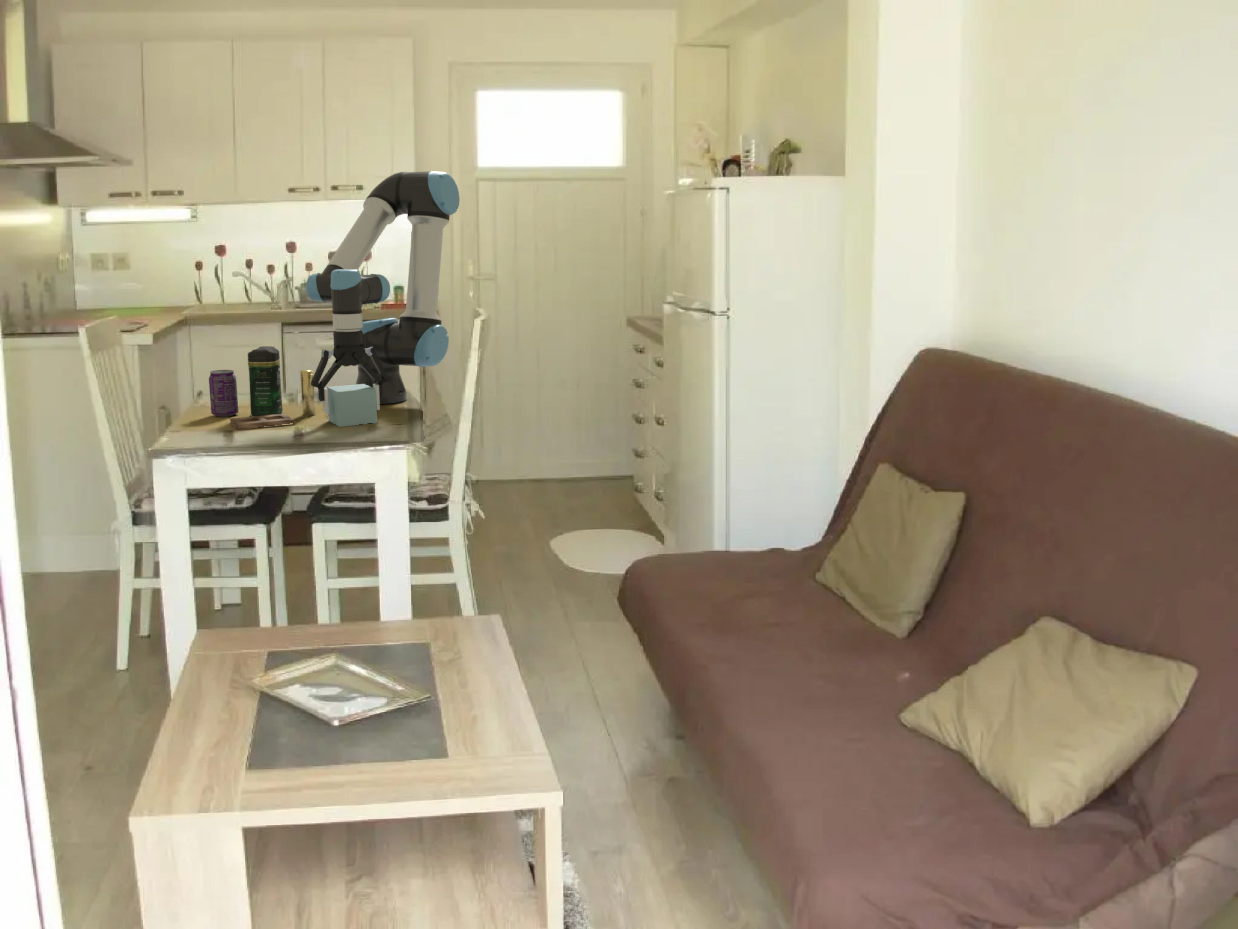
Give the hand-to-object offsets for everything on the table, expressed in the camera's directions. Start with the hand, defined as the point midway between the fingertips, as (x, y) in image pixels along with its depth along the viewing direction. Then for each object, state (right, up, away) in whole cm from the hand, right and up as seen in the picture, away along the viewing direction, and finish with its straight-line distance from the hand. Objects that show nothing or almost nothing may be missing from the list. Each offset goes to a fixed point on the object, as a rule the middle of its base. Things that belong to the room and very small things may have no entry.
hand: (351, 411), depth 359 cm
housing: (0, -3, +1) cm, 3 cm away
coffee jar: (-25, -1, +12) cm, 28 cm away
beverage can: (-37, -1, +13) cm, 39 cm away
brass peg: (-14, 0, +12) cm, 19 cm away
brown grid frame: (-23, -3, -1) cm, 23 cm away
